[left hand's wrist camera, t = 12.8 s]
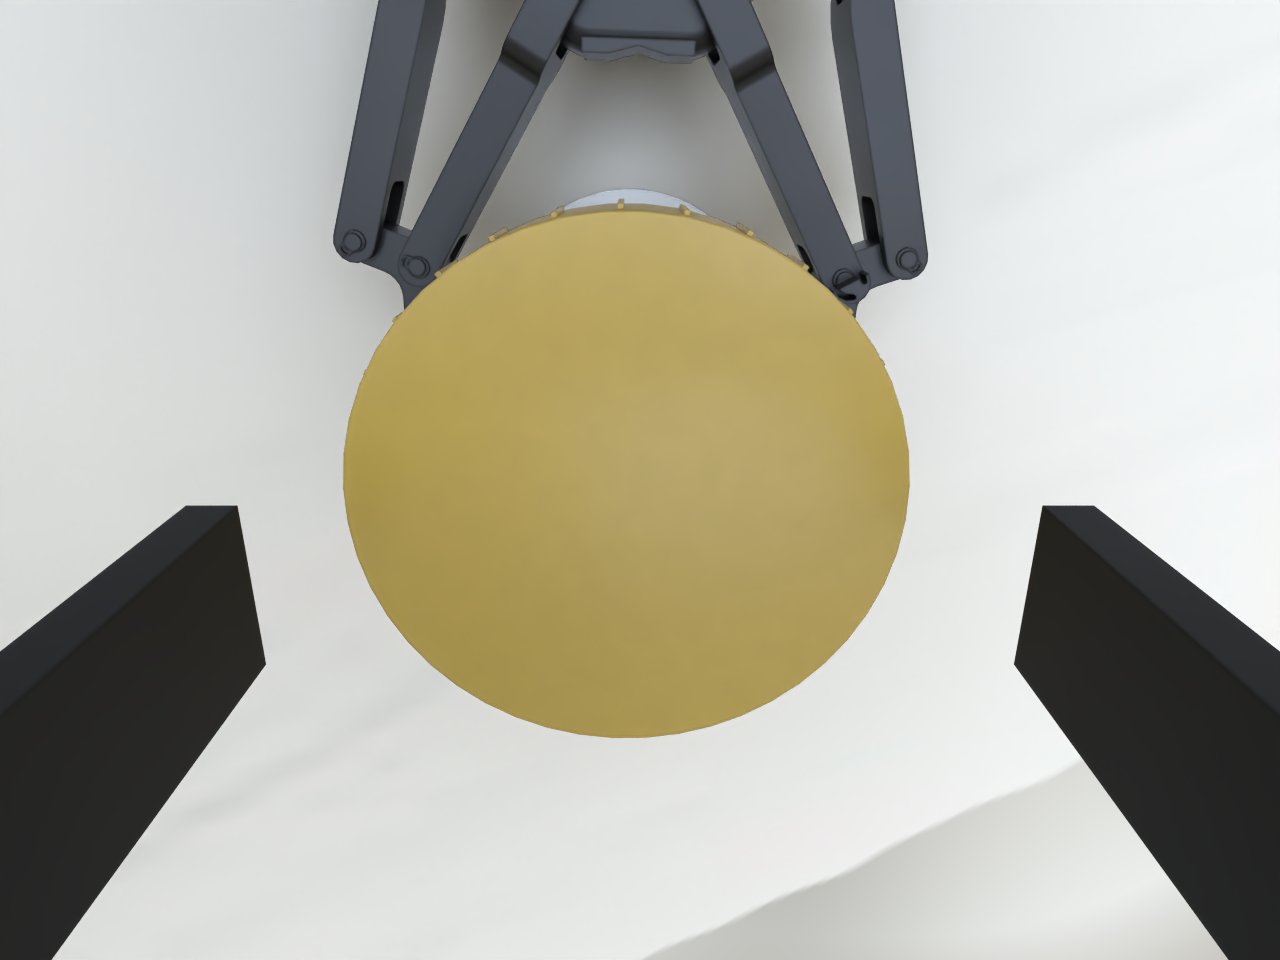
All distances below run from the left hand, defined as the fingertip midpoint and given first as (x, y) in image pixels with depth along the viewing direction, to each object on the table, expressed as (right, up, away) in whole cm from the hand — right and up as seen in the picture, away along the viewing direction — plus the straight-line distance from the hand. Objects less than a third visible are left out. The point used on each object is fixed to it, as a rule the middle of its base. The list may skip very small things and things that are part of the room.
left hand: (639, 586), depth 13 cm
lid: (0, +1, +4) cm, 4 cm away
